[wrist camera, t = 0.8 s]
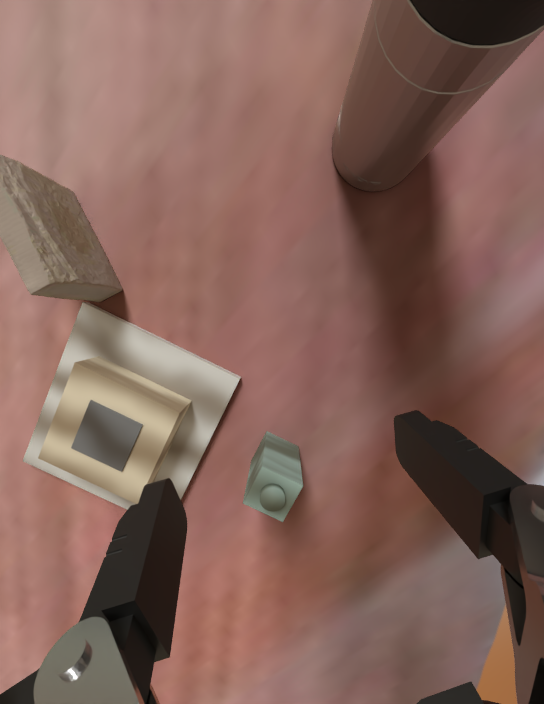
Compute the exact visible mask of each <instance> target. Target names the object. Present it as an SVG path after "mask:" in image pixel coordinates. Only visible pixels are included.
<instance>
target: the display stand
mask: <svg viewBox="0 0 544 704" xmlns="http://www.w3.org/2000/svg"><path fill="white" fill-rule="evenodd" d="M240 378H241V377H240V376H238V375H236V374H234V373H232V372H230V371H228V370H226V369H224V368H222V367H220V366H218V365H216V364H214V363H212V362H210V361H208V360H206V359H203V358H201V357H199V356H197V355H195V354H193V353H191V352H189V351H187V350H185V349H183V348H181V347H179V346H177V345H175V344H173V343H171V342H169V341H167V340H165V339H163V338H160V337H158V336H156V335H154V334H152V333H150V332H148V331H146V330H144V329H142V328H140V327H138V326H136V325H134V324H132V323H130V322H128V321H126V320H124V319H122V318H120V317H117V316H115V315H113V314H111V313H109V312H107V311H105V310H103V309H101V308H99V307H97V306H95V305H93V304H91V303H89V302H82V305H81V308H80V310H79V313H78V316H77V318H76V321H75V324H74V326H73V329H72V332H71V334H70V337H69V340H68V342H67V345H66V347H65V350H64V353H63V355H62V358H61V361H60V363H59V366H58V369H57V371H56V374H55V377H54V379H53V382H52V385H51V387H50V390H49V393H48V395H47V398H46V401H45V403H44V406H43V408H42V411H41V414H40V416H39V419H38V422H37V424H36V427H35V430H34V432H33V435H32V438H31V440H30V443H29V446H28V448H27V451H26V454H25V456H24V459H23V461H24V462H26V463H28V464H30V465H32V466H34V467H36V468H39V469H41V470H43V471H45V472H47V473H49V474H52V475H54V476H56V477H58V478H60V479H62V480H65V481H67V482H69V483H71V484H73V485H75V486H78V487H80V488H82V489H84V490H86V491H88V492H90V493H93V494H95V495H97V496H99V497H101V498H103V499H106V500H108V501H110V502H112V503H114V504H116V505H119V506H121V507H123V508H125V509H127V510H128V509H129V507H130V506H131V505H135V504H138V502H139V499H140V496H141V494H142V491H143V488H144V486H145V485H146V484H149V483H152V482H156V481H160V480H163V479H167V478H170V479H171V480H172V482H173V484H174V486H175V489H176V491H177V493H178V496H179V498H180V500H181V499H182V497H183V495H184V492H185V490H186V488H187V486H188V484H189V482H190V480H191V478H192V476H193V474H194V472H195V470H196V468H197V466H198V464H199V462H200V460H201V458H202V456H203V454H204V452H205V450H206V447H207V445H208V443H209V441H210V439H211V437H212V435H213V433H214V431H215V429H216V427H217V425H218V423H219V421H220V419H221V417H222V415H223V413H224V411H225V409H226V407H227V405H228V403H229V400H230V398H231V396H232V394H233V392H234V390H235V388H236V386H237V384H238V382H239V380H240Z"/></svg>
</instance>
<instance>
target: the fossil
mask: <svg viewBox="0 0 544 704" xmlns="http://www.w3.org/2000/svg"><path fill="white" fill-rule="evenodd" d="M0 237H1V239H2V241H3V243H4V245H5V246H6V248H7V250H8V252H9V254H10V256H11V258H12V260H13V262H14V264H15V266H16V267H17V269H18V271H19V274H20V276H21V278H22V280H23V281H24V283H25V285H26V287H27V289H28V291H29V292H30V294H31V295H38V296H46V297H54V298H61V299H74V300H89V301H94V302H101V301H103V300H105V299H107V298H109V297H111V296H113V295H115V294H117V293H119V292H121V291H122V290H123V289H122V287H121V285H120V283H119V280H118V278H117V276H116V274H115V272H114V270H113V269H112V266H111V264H110V263H109V260H108V258H107V256H106V255H105V252H104V250H103V248H102V246H101V245H100V243H99V241H98V239H97V237H96V235H95V233H94V231H93V229H92V228H91V226H90V224H89V221H88V219H87V218H86V216H85V214H84V212H83V210H82V208H81V206H80V204H79V202H78V201H77V198H76V196H75V194H74V192H73V191H71V190H70V189H68V188H66V187H64V186H61V185H59V184H58V183H56V182H54V181H53V180H51V179H49V178H47V177H46V176H44V175H42V174H40V173H38V172H36V171H35V170H33V169H31V168H29V167H27V166H25V165H23V164H22V163H20V162H18V161H15V160H13V159H10V158H8V157H5V156H3V155H0Z"/></svg>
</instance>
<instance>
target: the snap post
mask: <svg viewBox="0 0 544 704" xmlns="http://www.w3.org/2000/svg"><path fill="white" fill-rule="evenodd" d="M302 487H303V480H302V472H301V463H300V455H299V447H298V446H297V445H294V444H292V443H290V442H288V441H286V440H284V439H282V438H280V437H278V436H276V435H274V434H272V433H270V432H268V431H267V432H266V434H265V435H264V437H263V439H262V441H261V443H260V445H259V447H258V449H257V451H256V453H255V455H254V457H253V458H252V460H251V465H250V470H249V475H248V480H247V485H246V490H245V495H244V500H243V504H245V505H248V506H250V507H252V508H254V509H256V510H258V511H260V512H262V513H265V514H267V515H269V516H271V517H273V518H275V519H277V520H279V521H282V522H283V521H284V519H285V517H286V516H287V514H288V512H289V510H290V508H291V507H292V505H293V503H294V501H295V500H296V498H297V496H298V494H299V492H300V491H301V489H302Z"/></svg>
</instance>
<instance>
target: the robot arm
mask: <svg viewBox="0 0 544 704" xmlns="http://www.w3.org/2000/svg"><path fill="white" fill-rule="evenodd" d="M543 30H544V0H373V1H372V4H371V8H370V11H369V14H368V18H367V21H366V25H365V28H364V32H363V35H362V38H361V42H360V45H359V49H358V52H357V55H356V59H355V62H354V66H353V69H352V72H351V76H350V79H349V83H348V86H347V89H346V93H345V96H344V100H343V103H342V106H341V109H340V113H339V116H338V120H337V123H336V127H335V131H334V134H333V138H332V154H333V160H334V163H335V166H336V168H337V170H338V171H339V173H340V175H341V176H342V177H343V178H344V179H345V180H346V181H347V182H348V183H349V184H351V185H352V186H354V187H356V188H358V189H361V190H364V191H371V192H373V191H382V190H385V189H389V188H391V187H393V186H395V185H396V184H398V183H399V182H401V181H402V180H403V179H404V178H405V177H406V176H407V175H408V174H409V173H410V172H411V171H412V170H413V169H414V168H415V167H416V166H417V165H418V164H419V162H420V161H421V160H422V159H423V158H424V157H425V156H426V155H427V154H428V153H429V152H430V151H431V150H432V149H433V148H434V147H435V146H436V145H437V143H438V142H439V141H440V140H441V139H442V138H443V137H444V136H445V135H446V134H447V133H448V132H449V131H450V130H451V129H452V127H453V126H454V125H455V124H456V123H457V122H458V121H459V120H460V119H461V118H462V117H463V116H464V115H465V114H466V112H467V111H468V110H469V109H470V108H471V107H472V106H473V105H474V104H475V103H476V102H477V101H478V100H479V99H480V98H481V96H482V95H483V94H484V93H485V92H486V91H487V90H488V89H489V88H490V87H491V86H492V85H493V84H494V83H495V81H496V80H497V79H498V78H499V77H500V76H501V75H502V74H503V73H504V72H505V71H506V70H507V69H508V68H509V67H510V65H511V64H512V63H513V62H514V61H515V60H516V59H517V58H518V57H519V55H520V54H521V53H522V52H523V51H524V50H525V49H526V48H527V47H528V46H529V45H530V44H531V43H532V42H533V41H534V39H535V38H536V37H537V36H538V35H539V34H540V33H541V32H542V31H543ZM394 430H395V446H396V454H397V457H398V459H399V462H400V464H401V465H402V467H403V468H404V469H405V471H406V472H407V473H408V474H409V476H410V477H411V478H412V479H413V480H414V482H415V483H416V484H417V485H418V487H419V488H420V489H421V490H422V491H423V493H424V494H425V495H426V496H427V497H428V499H429V500H430V501H431V502H432V504H433V505H434V506H435V507H436V508H437V510H438V511H439V512H440V513H441V514H442V516H443V517H444V518H445V519H446V521H447V522H448V523H449V524H450V525H451V527H452V528H453V529H454V530H455V531H456V533H457V534H458V535H459V536H460V538H461V539H462V540H463V541H464V542H465V544H466V545H467V546H468V547H469V549H470V550H471V551H472V552H473V553H474V555H475V556H476V557H477V558H478V559H480V558H483V557H486V556H490V555H494V556H495V557H496V559H497V560H498V561H499V562H500V563H501V576H502V582H503V588H504V594H505V601H506V607H507V612H508V618H509V624H510V631H511V636H512V643H513V649H514V658H515V681H516V693H517V703H518V704H544V486H541V485H534V484H527V483H525V482H524V481H523V480H521V479H520V478H519V477H517V476H516V475H515V474H513V473H512V472H511V471H510V470H508V469H507V468H506V467H504V466H503V465H502V464H500V463H499V462H498V461H497V460H495V459H494V458H493V457H491V456H490V455H489V454H487V453H486V452H485V451H484V450H482V449H481V448H480V449H479V448H478V446H477V445H476V444H474V443H473V442H472V441H471V440H468V439H467V437H465V436H464V435H463V434H462V433H460V432H459V431H458V430H456V429H455V428H454V427H452V426H449V425H447V424H444V423H442V422H440V421H437V420H436V421H430V420H429V419H428V418H427V417H426V416H424V415H423V414H422V413H421V412H419V411H417V410H415V411H411V412H408V413H404V414H400V415H397V416H395V418H394ZM186 534H187V518H186V513H185V510H184V507H183V505H182V503H181V500H180V498H179V496H178V493H177V491H176V489H175V486H174V484H173V482H172V480H171V479H170V478H167V479H163V480H160V481H156V482H152V483H149V484H146V485H145V486H144V488H143V491H142V494H141V496H140V499H139V502H138V504H135V505H131V506H130V507H129V509H128V510H127V511H126V513H125V514H124V515H123V517H122V518H121V519H120V521H119V522H118V525H117V527H116V530H115V532H114V535H113V537H112V542H110V545H109V547H108V550H107V552H106V557H105V558H104V560H103V563H102V565H101V568H100V570H99V573H98V575H97V578H96V580H95V583H94V586H93V588H92V591H91V593H90V596H89V598H88V601H87V603H86V606H85V608H84V611H83V614H82V616H81V618H80V621H79V623H77V624H76V625H74V626H73V627H72V628H70V629H69V630H68V631H67V632H66V633H65V634H64V635H63V636H62V637H61V638H60V639H59V640H58V641H57V642H56V643H55V645H54V646H53V647H52V649H51V650H50V651H49V653H48V654H47V656H46V657H45V659H44V661H43V663H42V665H41V667H40V668H39V669H38V670H37V671H35V672H34V673H32V674H31V675H29V676H28V677H26V678H25V679H23V680H22V681H20V682H19V683H17V684H16V685H14V686H13V687H11V688H9V689H8V690H6V691H5V692H3V693H2V694H0V704H160V703H159V700H158V698H157V696H156V694H155V692H154V689H153V687H152V685H151V684H150V683H151V677H152V671H153V665H154V662H156V661H160V660H163V659H166V658H169V657H170V651H171V644H172V637H173V629H174V622H175V615H176V607H177V600H178V593H179V585H180V578H181V571H182V563H183V556H184V549H185V541H186ZM417 704H499V703H495V702H490V701H484V700H481V698H480V696H479V694H478V693H477V691H476V689H475V687H474V686H473V684H472V682H468V683H465V684H463V685H460V686H457V687H454V688H451V689H449V690H446V691H443V692H440V693H437V694H435V695H432V696H429V697H426V698H423V699H421V700H420V701H419V702H418V703H417Z"/></svg>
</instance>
